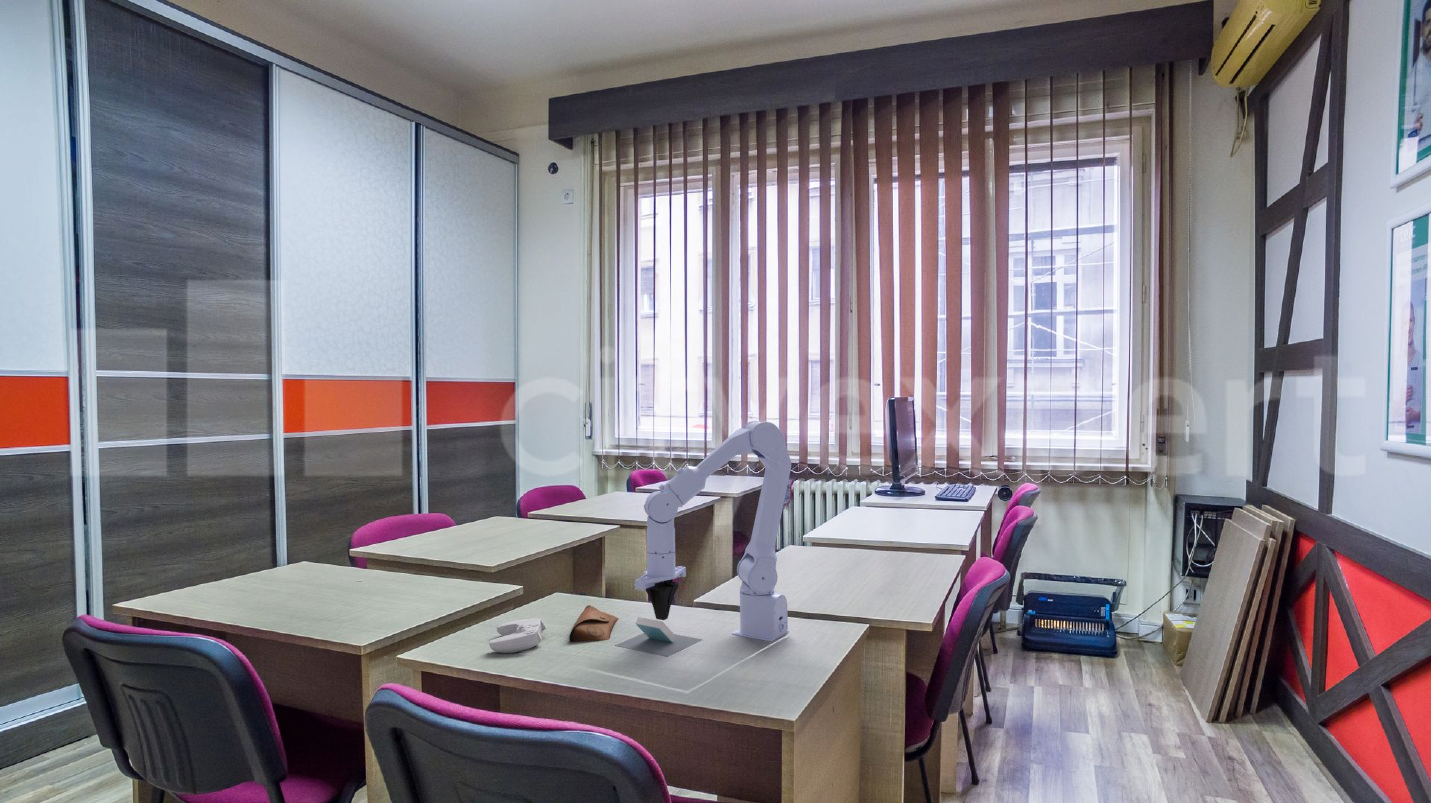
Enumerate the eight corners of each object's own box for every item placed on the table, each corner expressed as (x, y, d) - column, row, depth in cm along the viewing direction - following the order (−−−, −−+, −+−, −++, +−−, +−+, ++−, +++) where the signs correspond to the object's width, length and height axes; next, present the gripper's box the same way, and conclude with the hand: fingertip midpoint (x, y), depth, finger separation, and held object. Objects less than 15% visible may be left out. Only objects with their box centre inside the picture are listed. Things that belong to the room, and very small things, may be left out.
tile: (675, 636, 154) (662, 621, 150) (672, 643, 153) (659, 628, 149) (652, 631, 157) (638, 616, 153) (649, 638, 156) (635, 624, 152)
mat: (703, 641, 155) (702, 639, 155) (667, 658, 145) (667, 656, 145) (651, 631, 162) (651, 629, 162) (614, 647, 152) (614, 645, 152)
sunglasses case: (611, 642, 154) (594, 614, 154) (581, 661, 154) (564, 632, 154) (620, 618, 172) (605, 592, 172) (593, 634, 172) (578, 609, 172)
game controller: (496, 620, 162) (544, 607, 163) (501, 640, 162) (548, 627, 163) (485, 641, 147) (537, 627, 149) (490, 663, 148) (542, 649, 149)
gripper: (666, 543, 163) (667, 607, 163) (622, 555, 151) (623, 624, 151) (693, 546, 159) (694, 612, 159) (651, 559, 147) (651, 630, 147)
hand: (661, 618), depth 155 cm, fingers closed
